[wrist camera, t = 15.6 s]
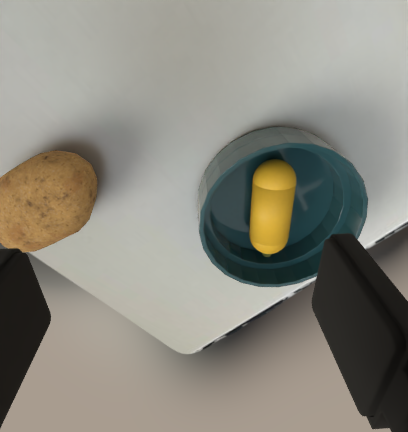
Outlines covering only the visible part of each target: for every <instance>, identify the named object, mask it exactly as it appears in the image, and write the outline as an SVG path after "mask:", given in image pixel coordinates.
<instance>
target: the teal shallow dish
mask: <svg viewBox="0 0 408 432" xmlns="http://www.w3.org/2000/svg"><path fill="white" fill-rule="evenodd" d="M271 159H279V160H283V161H285V162H287V163H288V164H289V165H290V166H291V167H292V168H293V170H294V172H295V174H296V188H295V195H294V202H293V209H292V216H291V223H290V230H289V238H288V241H287V244H286V245H285V247H284V248H283V249H282V250H280V251H279V252H277V253H274V254H271V256H269V257H265V256H263V255H262V252H259V251H258V250H256V249H255V248H254V247H253V245H252V243H251V241H250V238H249V229H250V213H251V197H252V180H253V175H254V172H255V170H256V169H257V167H258V166H259V165H260V164H262V163H263V162H265V161H267V160H271ZM367 205H368V197H367V193H366V189H365V185H364V181H363V179H362V178H361V176H360V175H359V173H358V172H357V170H356V169H355V167H354V166H353V164H352V163H351V162H349V161H348V160H347V159H346V158H344V157H343V156H342V155H341V154H339V153H338V152H337V151H336V150H334V149H333V148H332V147H331V146H329V145H328V144H327V143H325V142H324V141H323V140H321V139H320V138H319V137H317V136H316V135H314V134H312V133H309V132H306V131H303V130H300V129H297V128H287V127H271V128H267V129H262V130H257V131H253V132H251V133H249V134H247V135H245V136H243V137H241V138H239V139H237V140H235V141H233V142H231V143H230V144H229V145H228V146H227V147H225V148H224V149H223V150H222V151H221V152H220V153H218V154H217V155H216V157H215V158H214V159H213V161H212V162H211V164H210V165H209V167H208V168H207V169H206V171H205V173H204V176H203V179H202V181H201V184H200V187H199V192H198V222H199V234H200V238H201V242H202V246H203V249H204V251H205V252H206V254H207V255H208V257H209V259H210V260H211V262H212V263H213V264H214V265H215V266H216V267H217V268H218V269H219V270H221V271H222V272H223V273H224V274H225V275H227V276H229V277H231V278H233V279H235V280H237V281H239V282H242V283H245V284H250V285H254V286H258V287H281V286H287V285H293V284H297V283H300V282H303V281H306V280H308V279H311V278H314V277H316V276H317V274H318V269H319V264H320V260H321V255H322V250H323V246H324V242H325V240H326V239H329V238H330V236H331V235H332V234H345V233H351V234H353V235H354V236H355V238H356V239H358V238H359V236H360V234H361V231H362V228H363V226H364V223H365V220H366V217H367Z"/></svg>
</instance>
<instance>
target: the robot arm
mask: <svg viewBox="0 0 408 432" xmlns="http://www.w3.org/2000/svg"><path fill="white" fill-rule="evenodd" d="M312 308H313V311H314V313H315V316H316V318H317V320H318V322H319V325H320V327H321V329H322V331H323V333H324V336H325V338H326V340H327V342H328V344H329V347H330V349H331V351H332V353H333V355H334V358H335V360H336V362H337V364H338V367H339V369H340V371H341V373H342V376H343V378H344V380H345V382H346V384H347V387H348V389H349V391H350V393H351V396H352V398H353V400H354V402H355V405H356V407H357V409H358V411H359V413H360V414H361V415H362V416H367V418H368V421H369V423H370V425H371V427H372V429H380V428H390V429H391V431H392V432H408V301H407V300H406V299H405V298H404V296H403V295H402V294H401V293H400V292H399V290H398V289H397V288H396V287H395V285H394V284H393V283H392V282H391V281H390V279H389V278H388V277H387V276H386V274H385V273H384V272H383V271H382V269H381V268H380V267H379V266H378V265H377V263H376V262H375V261H374V260H373V258H372V257H371V256H370V255H369V253H368V252H367V251H366V250H365V249H364V247H363V246H362V245H361V244H360V242H359V241H358V240H357V239H356V238H355V236H354V235H353V234H351V233H345V234H332V235H331V236H330V238H329V239H326V240H325V242H324V246H323V250H322V255H321V260H320V264H319V269H318V274H317V278H316V283H315V288H314V292H313V297H312ZM50 321H51V314H50V311H49V308H48V306H47V303H46V301H45V298H44V296H43V293H42V290H41V288H40V285H39V283H38V280H37V278H36V275H35V273H34V270H33V268H32V265H31V263H30V260H29V257H28V255H27V254H26V253H22V251H21V250H20V249H18V248H10V249H0V428H1V426H2V423H3V421H4V419H5V417H6V415H7V413H8V411H9V409H10V406H11V404H12V402H13V400H14V398H15V396H16V394H17V392H18V390H19V388H20V386H21V383H22V381H23V379H24V377H25V375H26V373H27V371H28V369H29V367H30V364H31V362H32V360H33V358H34V356H35V354H36V352H37V350H38V348H39V346H40V343H41V341H42V339H43V337H44V335H45V333H46V331H47V329H48V327H49V324H50Z"/></svg>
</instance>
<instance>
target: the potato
mask: <svg viewBox="0 0 408 432" xmlns="http://www.w3.org/2000/svg"><path fill="white" fill-rule="evenodd" d="M96 195H97V177H96V174H95V172H94V170H93V167H92V165H91V164H90V163H89V162H87V161H86V160H85V159H83V158H82V157H80V156H79V155H78V154H76V153H70V152H64V151H57V150H55V151H50V152H44V153H40V154H38V155H36V156H34V157H32V158H30V159H28V160H27V161H25V162H23V163H22V164H20V165H18V166H17V167H15V168H14V169H12V170H11V171H9V172H7V173H6V174H5V175H3V176H2V177H1V178H0V243H1V244H2V245H3V246H4V247H6V248H9V249H10V248H18V249H20V250H21V251H22V252H32V251H37V250H39V249H42V248H44V247H47V246H49V245H51V244H53V243H55V242H57V241H59V240H61V239H63V238H65V237H67V236H70V235H72V234H74V233H76V232H78V231H79V230H80V229H81V228H82V227H83V226H84V225H85V224H86V223H87V222H88V220H89V219H90V216H91V213H92V210H93V206H94V203H95V200H96Z"/></svg>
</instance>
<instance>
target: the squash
mask: <svg viewBox="0 0 408 432" xmlns="http://www.w3.org/2000/svg"><path fill="white" fill-rule="evenodd" d="M295 188H296V174H295V172H294V170H293V168H292V167H291V166H290V165H289V164H288V163H287V162H285V161H283V160H279V159H271V160H267V161H265V162H263V163H262V164H260V165H259V166H258V167H257V169H256V170H255V172H254V175H253V180H252V197H251V213H250V229H249V238H250V241H251V243H252V245H253V247H254V248H255V249H256V250H258V251H259V252H262V255H263V256H265V257H269V256H271V254H274V253H277V252H279V251H280V250H282V249H283V248H284V247H285V245H286V244H287V241H288V238H289V230H290V223H291V216H292V209H293V202H294V195H295Z"/></svg>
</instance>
